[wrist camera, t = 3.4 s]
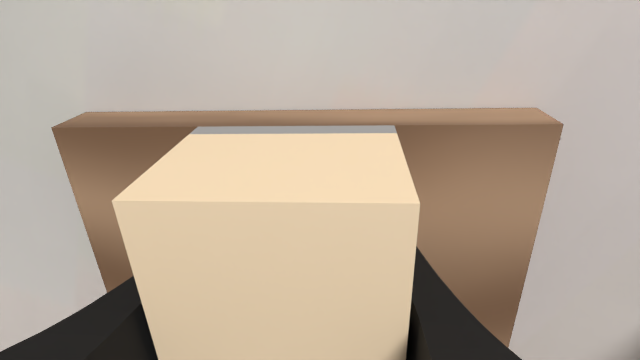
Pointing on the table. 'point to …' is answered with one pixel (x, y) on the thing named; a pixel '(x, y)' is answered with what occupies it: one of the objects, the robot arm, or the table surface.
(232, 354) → the block
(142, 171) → the board
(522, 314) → the table surface
